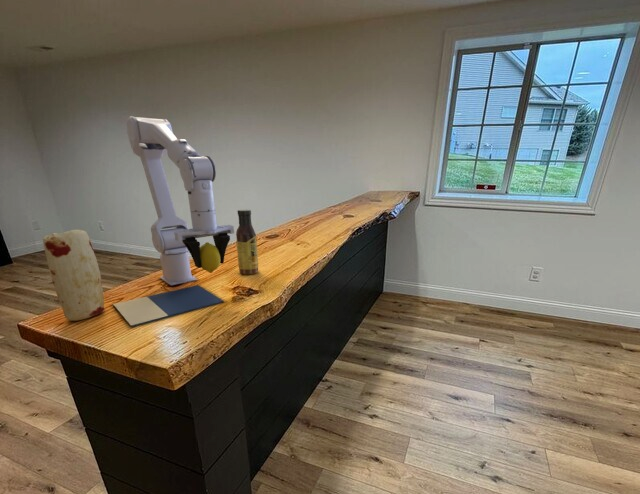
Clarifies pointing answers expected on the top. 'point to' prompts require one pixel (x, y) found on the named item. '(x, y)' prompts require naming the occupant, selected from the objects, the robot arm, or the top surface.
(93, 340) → the top surface
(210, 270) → the lemon
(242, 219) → the sauce bottle
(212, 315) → the top surface
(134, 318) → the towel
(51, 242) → the food model
